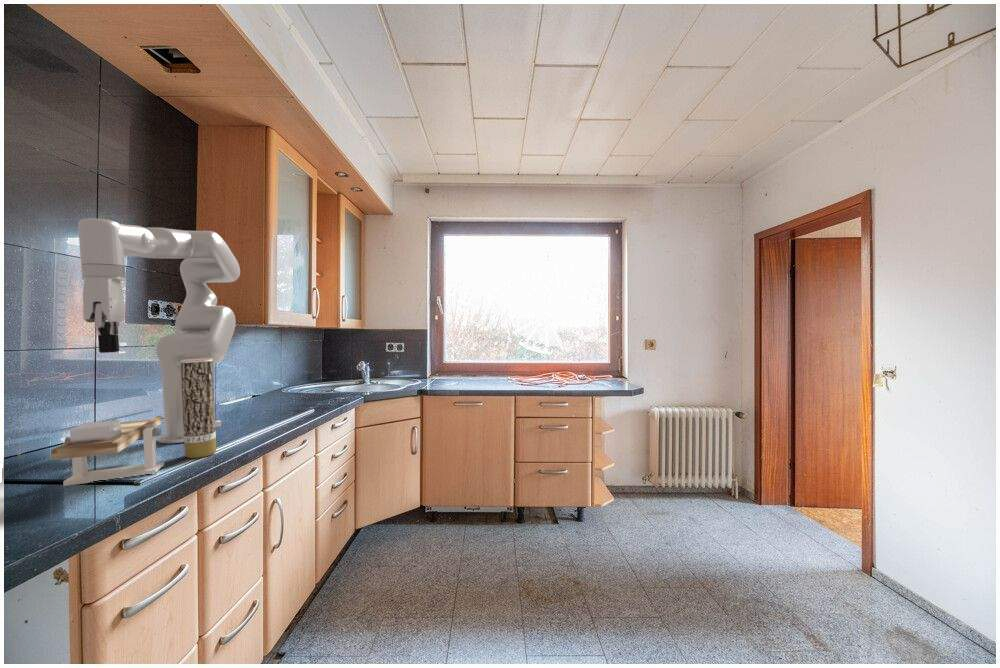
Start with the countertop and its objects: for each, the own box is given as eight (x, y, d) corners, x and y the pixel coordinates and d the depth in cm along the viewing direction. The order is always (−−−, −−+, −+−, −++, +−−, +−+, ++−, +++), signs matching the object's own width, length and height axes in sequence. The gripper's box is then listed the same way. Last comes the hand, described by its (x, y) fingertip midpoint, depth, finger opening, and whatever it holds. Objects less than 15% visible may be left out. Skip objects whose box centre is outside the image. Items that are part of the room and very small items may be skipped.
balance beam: (113, 439, 109) (112, 418, 109) (162, 434, 113) (161, 414, 113) (52, 475, 83) (51, 447, 83) (118, 467, 87) (116, 441, 87)
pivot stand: (75, 477, 98) (73, 433, 97) (165, 465, 104) (163, 424, 104) (61, 486, 92) (59, 439, 92) (157, 473, 99) (155, 430, 99)
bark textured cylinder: (188, 453, 114) (184, 359, 114) (218, 449, 117) (215, 357, 116) (181, 460, 108) (177, 361, 107) (213, 456, 111) (209, 359, 110)
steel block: (85, 441, 92) (84, 423, 91) (121, 438, 94) (120, 420, 94) (71, 449, 86) (69, 429, 86) (109, 445, 88) (108, 426, 88)
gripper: (96, 275, 106) (101, 350, 107) (67, 270, 92) (73, 356, 93) (135, 276, 109) (140, 348, 110) (112, 271, 95) (118, 354, 96)
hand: (109, 352), depth 101 cm, fingers closed
